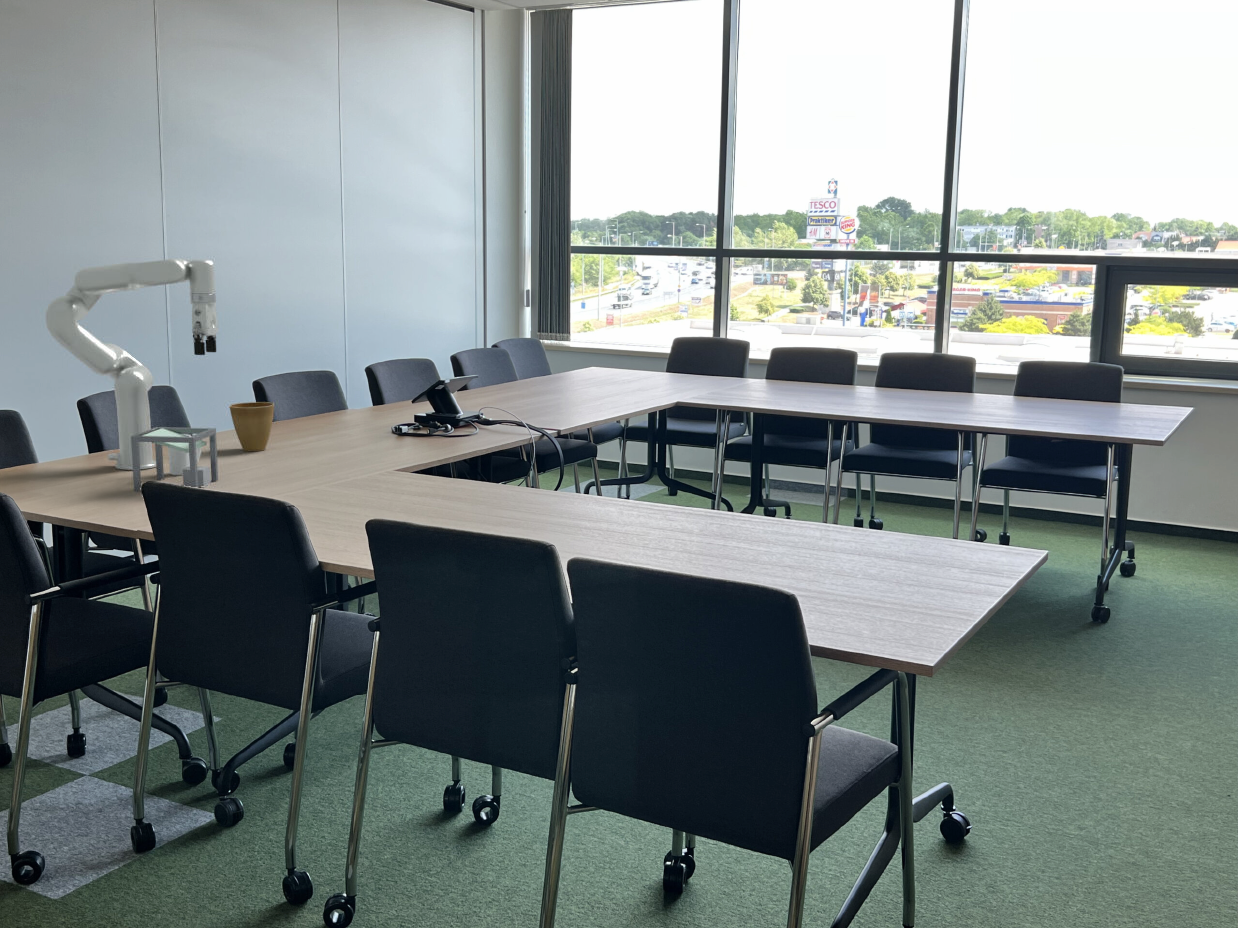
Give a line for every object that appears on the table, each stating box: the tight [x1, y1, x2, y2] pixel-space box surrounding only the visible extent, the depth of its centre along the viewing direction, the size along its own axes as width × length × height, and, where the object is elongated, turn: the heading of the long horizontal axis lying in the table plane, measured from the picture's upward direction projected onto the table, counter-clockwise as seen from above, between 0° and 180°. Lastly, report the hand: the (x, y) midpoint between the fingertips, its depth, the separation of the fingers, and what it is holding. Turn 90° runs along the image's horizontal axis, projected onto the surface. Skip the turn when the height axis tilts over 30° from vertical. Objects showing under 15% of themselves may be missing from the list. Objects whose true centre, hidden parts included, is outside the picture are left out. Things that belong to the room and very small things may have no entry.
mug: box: [167, 433, 202, 476], centre depth 357 cm, size 10×7×12 cm, turn 131°
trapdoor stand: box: [131, 426, 219, 492], centre depth 338 cm, size 18×18×16 cm
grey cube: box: [182, 465, 212, 489], centre depth 339 cm, size 6×6×6 cm
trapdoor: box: [143, 428, 208, 453], centre depth 337 cm, size 14×14×1 cm
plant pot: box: [228, 401, 275, 452], centre depth 399 cm, size 15×15×16 cm
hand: (205, 353), depth 364 cm, fingers open, 9 cm apart
